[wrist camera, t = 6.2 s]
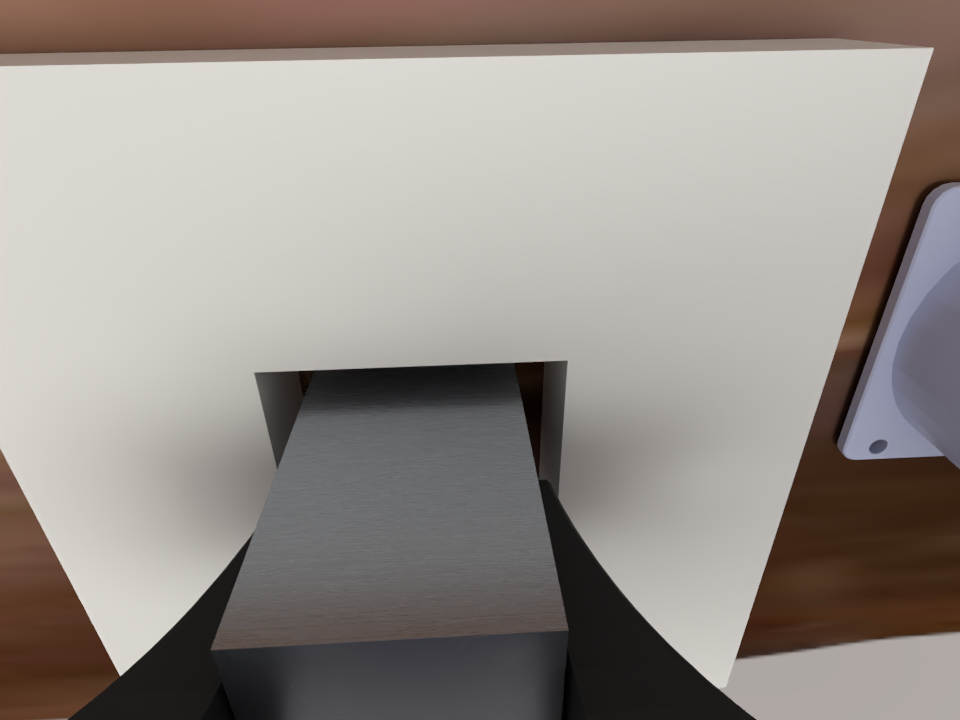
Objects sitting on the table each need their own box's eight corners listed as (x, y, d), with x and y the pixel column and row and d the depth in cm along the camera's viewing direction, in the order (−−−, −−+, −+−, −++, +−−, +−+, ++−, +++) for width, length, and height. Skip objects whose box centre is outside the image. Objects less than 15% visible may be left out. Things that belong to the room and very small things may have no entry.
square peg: (510, 341, 15) (568, 629, 8) (508, 485, 17) (553, 811, 10) (322, 348, 15) (210, 650, 8) (345, 493, 17) (275, 829, 10)
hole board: (833, 38, 13) (933, 47, 10) (692, 606, 22) (725, 687, 19) (-61, 55, 12) (-199, 70, 9) (180, 633, 21) (144, 721, 19)
